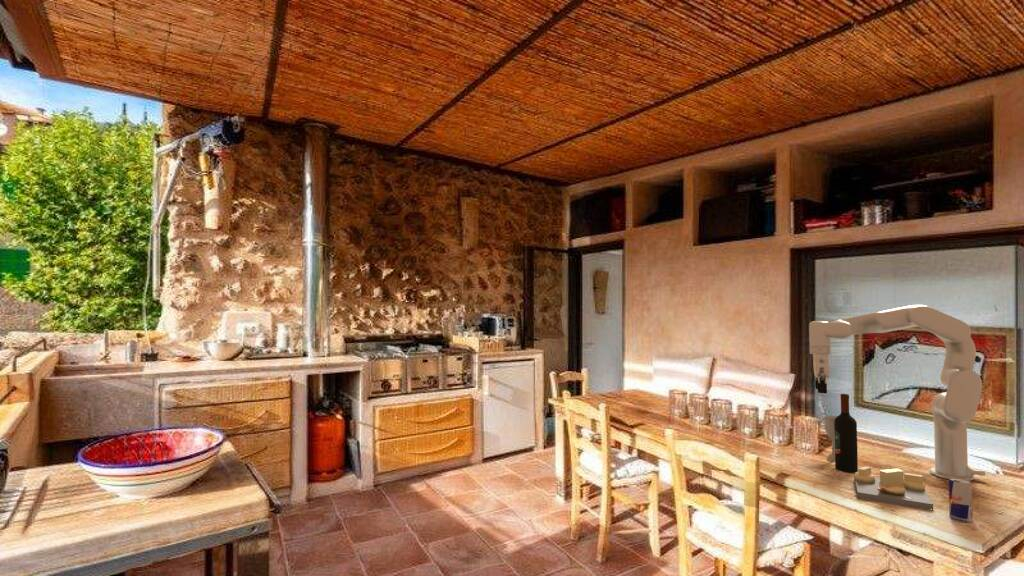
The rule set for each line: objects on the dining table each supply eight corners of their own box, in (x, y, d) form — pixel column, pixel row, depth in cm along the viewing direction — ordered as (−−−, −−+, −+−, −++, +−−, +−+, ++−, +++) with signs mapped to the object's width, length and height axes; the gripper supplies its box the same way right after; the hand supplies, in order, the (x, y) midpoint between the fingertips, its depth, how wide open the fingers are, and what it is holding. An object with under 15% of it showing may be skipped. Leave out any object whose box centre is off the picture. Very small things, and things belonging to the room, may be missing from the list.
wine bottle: (851, 474, 194) (849, 396, 195) (831, 468, 201) (829, 393, 202) (862, 471, 198) (860, 395, 198) (842, 465, 204) (840, 392, 205)
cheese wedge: (890, 486, 175) (889, 466, 175) (910, 494, 168) (909, 473, 168) (869, 488, 173) (869, 468, 173) (889, 496, 166) (888, 475, 166)
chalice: (838, 457, 215) (837, 415, 215) (847, 462, 208) (846, 419, 208) (820, 457, 215) (819, 415, 216) (829, 462, 209) (828, 418, 209)
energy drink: (944, 516, 156) (943, 477, 157) (960, 515, 157) (959, 476, 157) (961, 523, 151) (960, 483, 151) (977, 522, 152) (976, 483, 152)
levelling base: (922, 490, 178) (921, 472, 178) (933, 510, 160) (932, 490, 161) (854, 479, 188) (853, 462, 188) (857, 498, 171) (857, 479, 171)
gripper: (833, 352, 201) (834, 395, 201) (828, 348, 217) (829, 388, 216) (811, 352, 205) (812, 393, 204) (808, 348, 220) (808, 387, 220)
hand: (821, 391), depth 210 cm, fingers open, 9 cm apart
